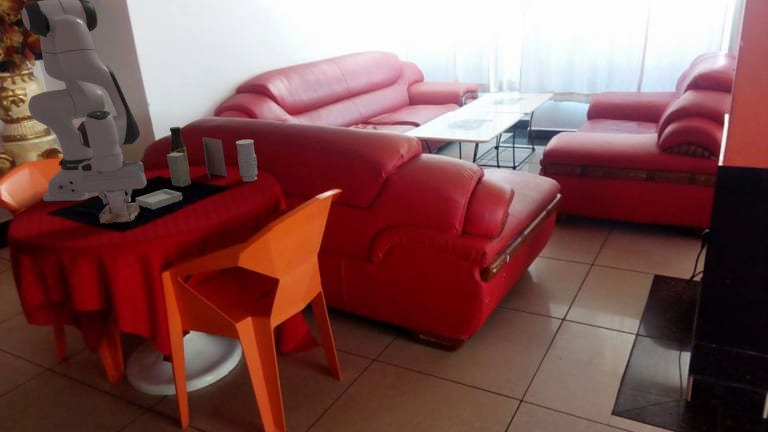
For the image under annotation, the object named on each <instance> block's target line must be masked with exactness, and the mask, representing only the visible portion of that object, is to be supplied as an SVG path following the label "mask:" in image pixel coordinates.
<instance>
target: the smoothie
mask: <svg viewBox="0 0 768 432" xmlns="http://www.w3.org/2000/svg"><path fill="white" fill-rule="evenodd" d="M104 192H105V193H104V195H105V197H106V198H107V199H108V201H109V204H108V205H110V207H111V210H112V212H113V213H122V212H126V204H127V202H125V200H124V197H125V196H126V190H115V191H104Z"/></svg>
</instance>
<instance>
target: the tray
mask: <svg viewBox="0 0 768 432" xmlns="http://www.w3.org/2000/svg"><path fill="white" fill-rule="evenodd" d="M182 199H184V198H183V194H182V192H178V191H175V190H172V189H171V190H170V189H166V188H164V189H161V190H158V191H157V190H156V191H154V192H151V193H147V194H145V195H141V196H139V197H135V203H138V205H139V206H140V207H144V208H146V207H147V208H146V209H149V208H150V210H156V209H158V208H159V209H160V208H162V207H164V206H167V205H170V204H173V202H174V203H177V202H180V201H182ZM179 200H180V201H179Z"/></svg>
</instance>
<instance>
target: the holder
mask: <svg viewBox="0 0 768 432" xmlns="http://www.w3.org/2000/svg"><path fill="white" fill-rule="evenodd" d="M106 205H107V206H105V207H104V209H102V211H101V212H100V213H99V214H98V219H99V223H100V225H102V223H105V224H113V222H116V223H123V222H125V223H126V222H127V221H128V222H133V221H134V220H135V218H136V217H137V215H138V214H139V213H138V212H140V207H139V206H140V205H138V203H136V202H131V203H130V202H127V203H126V212H122V213H113V212H112V210H111V207H110V204H106ZM135 216H136V217H135ZM132 220H133V221H132Z"/></svg>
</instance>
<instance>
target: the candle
mask: <svg viewBox="0 0 768 432" xmlns="http://www.w3.org/2000/svg"><path fill="white" fill-rule="evenodd" d="M254 142H255V141H254V140H253V139H241V140H237V141H235V144H236V148H237V149H236V150H237V162H238V167H239V175H240V176H241V177H242V179H241V181H242V180H243V181H242V182H253V181H256V180H257V179H258V177H257V175H258V173H259V172H258V168H257V166H258V162H257V154H255V146H254Z"/></svg>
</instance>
